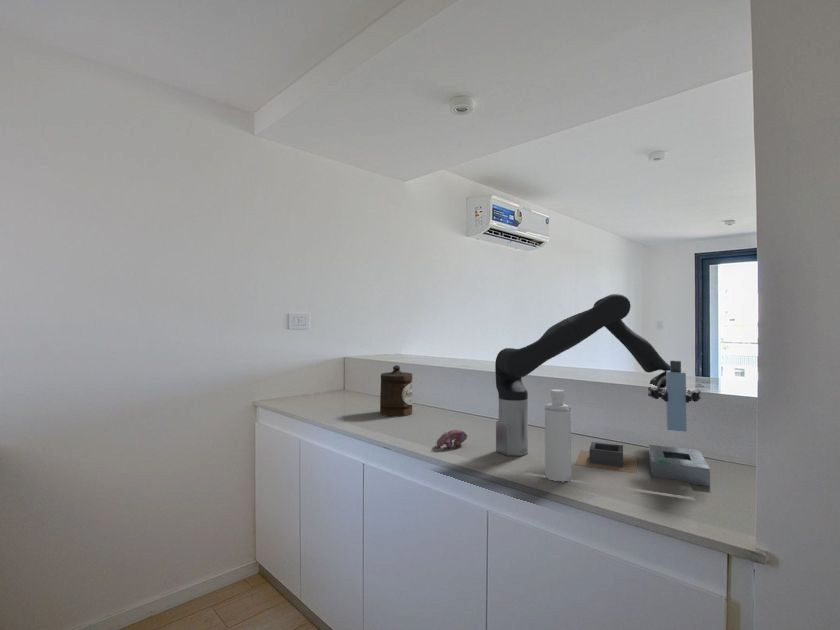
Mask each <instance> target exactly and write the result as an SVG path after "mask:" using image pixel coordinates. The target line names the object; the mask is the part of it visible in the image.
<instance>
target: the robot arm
mask: <svg viewBox="0 0 840 630" xmlns="http://www.w3.org/2000/svg"><path fill="white" fill-rule="evenodd" d="M630 311H631V301H630V300H629V299H628V297H626V295H624V294H620V293H612V294H611V293H610V294H609V295H607V296H603V297H601V298H600V299H598V300H597V301H595V302H594V304H593V307H591V308H588V309H587V310H584V311H582V312H579V313H577V314H573V315H571V316H569V317H567V318H565V319H562V320H560V321H559V322H557V323H555V324H553V325H552V326H550V327H549V328H548V329H547V330H546V331H545V332H544V333H543V335H542V336H541V337H540V338H539V339H538V340H536V341H534V342H533V343H530V344H527V345H525V346H524V347H520V348H512V347H508V348H507V347H506V348H503V349H501V350H500V351H499V352H498V353H497V355H496V358H495V369H494V370H495V371H494V372H495V386H496V389H497V392H498V393H497V395H498V421H496V422H495V450H496V452H498V453H500V454H502V455H505V456H507V457H510V456H513V457H516V456H517V457H518V456H525V455H527V454H528V453H529V448H528V447H529V443H528V442H529V439H528V438H529V429H528V427H529V426H528V425H529V422H528V421H529V420H528V418H529V416H528V415H529V414H528V413H529V408H528V407H529V406H528V405H529V404H528V401H529V400H528V395H529V394H528V390H527V388H526V387H525V386H524V384H523V382H522V380H523V379H522V378H524V377H526V376H527V375H529V374H531V373H532V372H533V371H535V370H536V369H538V368H539V367H540V366H541V365H543V364H544V363H546V362H547V361H549V360H551V359H552V358H555V357H557V356H559V355H560V354H562V353H563V352H566V351H567V350H570V349H572V348H573V347H575V346H576V345H579V344H580V343H582V342H583V341H584V340H587V338H589V337H591V336H592V335H594V334H596V332H598V331H599V330H600V329H602V328H606V329H607V331H609V332H610V333H611V334H612V335H613V336H614V337H615V338H616V339H617V340H618V341H619V342H620V343H621V344H622V346H624V347H625V349H626V350H627V351H628V352H629V353H630V354H631V356H632V357H633V358H634V359H635V361H636V362H637V363H638V364H639V366H640V367H641V368H642V370H643V371H644V372H646V373H654V372H656V371H662V373H659V374H658V375H656V376H653V378H652V379H650V381H649V385H650V384H653V385H655V386H657V389H655V388H651V387H650V386H649V387H647V396H648V397H650V398H652V399H655V400H659V398H660V400H662V401H663V402H665V403H666V401H668V393H667V392H666V371H670V363H668V362H667V361H665V359H663V357H662V356H661V355H660V353H659V352H657V350H656V349H655V347H654V346H653V345H652V344H651V343H650V342H649V341H648V340H646V339H645V338H644V337H642V336H641V335H639V334H638V333H636V332H635V331H634V330H632V329H631V328H630V327H629V326H628V325H626V324H625V322H624V320H623V319H624V318H626V317H627V316H628V315H629V313H630ZM701 394H702V393H701V390H700V389H695V390H694V389H693V390H692V392H691V390H689V389H687V387H686V404H689V403H690V402H692V401H693V402H694V403H696V402H698V401H700V400H701V398H702V396H701Z"/></svg>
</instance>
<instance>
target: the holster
mask: <svg viewBox="0 0 840 630" xmlns="http://www.w3.org/2000/svg"><path fill="white" fill-rule="evenodd" d="M637 464H638V463H637V456H631V455H624V445H623V444H615V443H606V442H605V443H604V442H597V441H596V442H595V441H591V443H590V447H589V449H588V450H582V449H580V451H579V453H578V457H577V460H576V461H575V466H579V467H587V468H595V469H602V470H609V471H618V472H622V473H623V472H624V473H630V474H631V473H632V474H638V465H637Z"/></svg>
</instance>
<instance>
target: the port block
mask: <svg viewBox="0 0 840 630" xmlns="http://www.w3.org/2000/svg"><path fill="white" fill-rule="evenodd" d="M648 459H649V465H650V472H651V477H653V478H661V479H669V480H676V481H683V482H688V483H689V484H690V485H695V486H703V487H711V468H710V466H709V465H708V463H707V461H706V460H705V459H706V458H705V457H704V455H703V453H702V452H701V450H700V449H692V448H685V447H684V448H682V447H675V446H674V447H673V446H666V445H665V446H663V445H655V444H648Z"/></svg>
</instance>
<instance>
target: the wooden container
mask: <svg viewBox="0 0 840 630" xmlns="http://www.w3.org/2000/svg"><path fill="white" fill-rule="evenodd" d="M392 369H393V370H392V371H391V372H383V373H381V374H380V394H379V395H380V396H379V397H380V398H379V400H380V401H379V404H380V405H379V407H380V408H379V414H380V415H382V416H385V415H386V416H385V417H393V416H398V417H406V415H407V416H411V415H412V414H413V373H411V372H404V371H403V372H402V371H401V367H400V365H394V366H392Z"/></svg>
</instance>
